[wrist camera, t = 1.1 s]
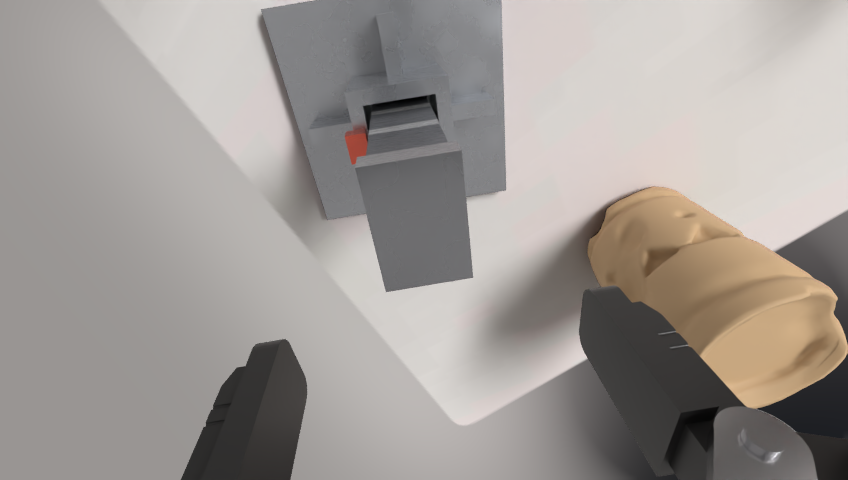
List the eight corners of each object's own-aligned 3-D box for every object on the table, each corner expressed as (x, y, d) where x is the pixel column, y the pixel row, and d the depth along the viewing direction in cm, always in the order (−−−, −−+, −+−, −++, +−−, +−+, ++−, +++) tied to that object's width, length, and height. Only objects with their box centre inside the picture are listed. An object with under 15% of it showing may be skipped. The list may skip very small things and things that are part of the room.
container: (648, 162, 38) (823, 264, 23) (710, 223, 43) (889, 341, 28) (557, 248, 43) (653, 380, 28) (623, 295, 48) (735, 429, 32)
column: (371, 81, 31) (355, 167, 14) (419, 72, 31) (461, 150, 14) (385, 151, 34) (386, 292, 17) (429, 144, 34) (472, 277, 17)
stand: (264, 9, 29) (219, 9, 21) (497, -29, 29) (539, -44, 21) (328, 215, 38) (314, 268, 30) (503, 186, 38) (533, 231, 30)
